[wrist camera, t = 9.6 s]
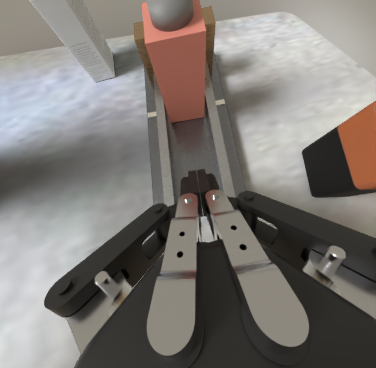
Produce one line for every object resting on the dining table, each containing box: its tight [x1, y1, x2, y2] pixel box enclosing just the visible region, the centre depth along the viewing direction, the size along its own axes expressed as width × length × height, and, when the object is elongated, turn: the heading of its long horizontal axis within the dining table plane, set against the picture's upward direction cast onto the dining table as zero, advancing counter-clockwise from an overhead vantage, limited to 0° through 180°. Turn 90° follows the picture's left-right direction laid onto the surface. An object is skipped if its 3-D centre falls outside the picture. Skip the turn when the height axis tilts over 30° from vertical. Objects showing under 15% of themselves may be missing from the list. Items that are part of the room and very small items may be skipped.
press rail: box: [134, 6, 246, 206], centre depth 19 cm, size 26×12×8 cm, turn 8°
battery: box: [302, 101, 376, 197], centre depth 14 cm, size 4×7×10 cm, turn 1°
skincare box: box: [29, 0, 115, 82], centre depth 22 cm, size 6×4×12 cm
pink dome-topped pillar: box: [142, 0, 206, 123], centre depth 16 cm, size 5×5×11 cm
